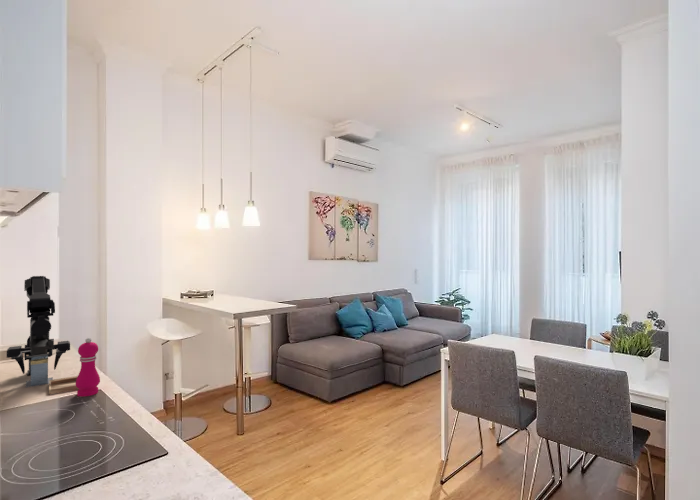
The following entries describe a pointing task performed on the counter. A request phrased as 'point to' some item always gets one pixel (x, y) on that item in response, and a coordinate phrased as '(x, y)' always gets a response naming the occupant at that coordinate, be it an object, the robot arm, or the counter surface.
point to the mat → (28, 384)
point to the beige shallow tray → (62, 385)
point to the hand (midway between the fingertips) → (39, 371)
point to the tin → (39, 370)
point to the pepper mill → (87, 369)
